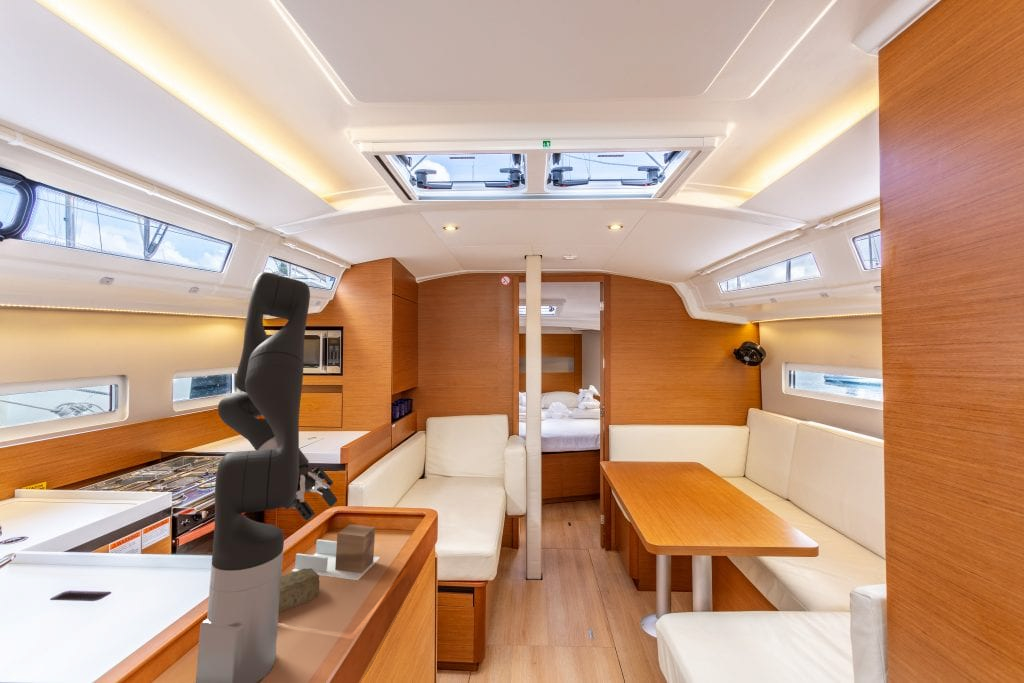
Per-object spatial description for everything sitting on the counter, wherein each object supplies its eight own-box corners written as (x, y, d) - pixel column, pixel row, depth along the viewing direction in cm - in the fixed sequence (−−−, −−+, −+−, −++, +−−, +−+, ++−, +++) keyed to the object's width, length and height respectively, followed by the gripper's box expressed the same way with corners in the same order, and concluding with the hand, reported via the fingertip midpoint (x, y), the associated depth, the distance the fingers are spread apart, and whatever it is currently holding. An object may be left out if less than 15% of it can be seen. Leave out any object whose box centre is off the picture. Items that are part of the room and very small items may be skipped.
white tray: (357, 583, 83) (358, 565, 83) (275, 571, 86) (276, 554, 86) (380, 559, 92) (381, 544, 93) (305, 550, 96) (306, 535, 96)
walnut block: (361, 573, 85) (364, 536, 86) (335, 569, 86) (337, 533, 87) (373, 561, 90) (375, 527, 91) (347, 558, 91) (349, 524, 92)
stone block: (320, 600, 77) (321, 574, 77) (252, 628, 68) (254, 599, 69) (309, 587, 81) (311, 563, 81) (244, 612, 72) (246, 585, 73)
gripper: (271, 454, 85) (314, 511, 83) (313, 441, 99) (351, 490, 97) (248, 476, 86) (290, 534, 83) (293, 460, 100) (330, 509, 97)
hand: (323, 510), depth 90 cm, fingers open, 8 cm apart
